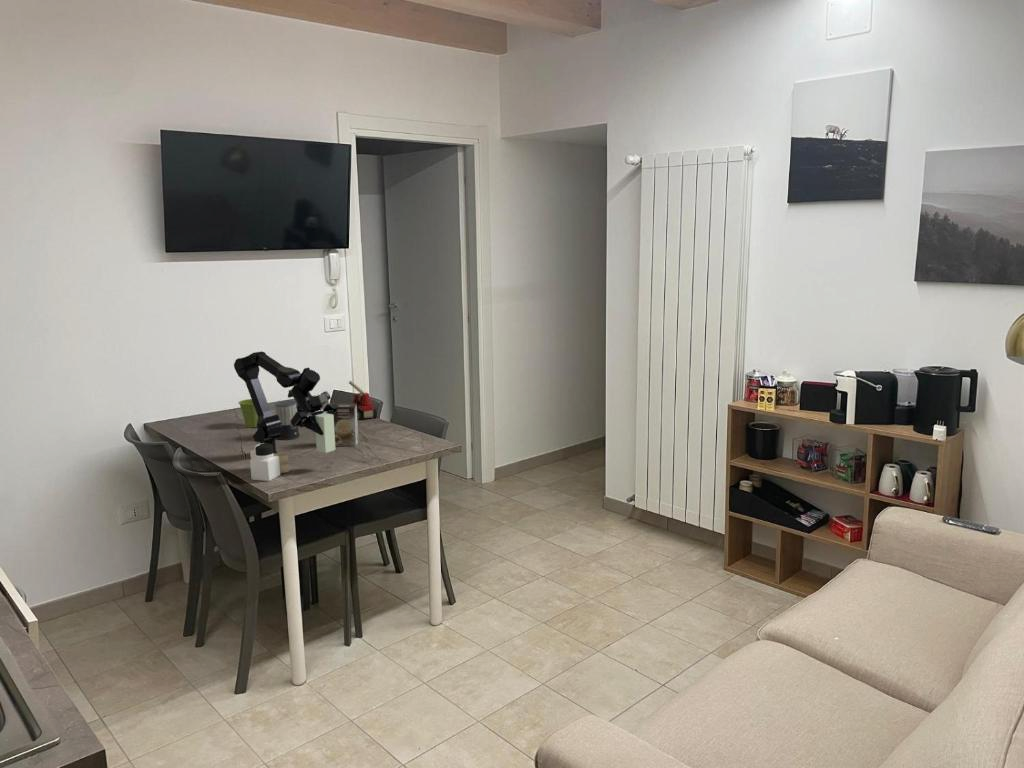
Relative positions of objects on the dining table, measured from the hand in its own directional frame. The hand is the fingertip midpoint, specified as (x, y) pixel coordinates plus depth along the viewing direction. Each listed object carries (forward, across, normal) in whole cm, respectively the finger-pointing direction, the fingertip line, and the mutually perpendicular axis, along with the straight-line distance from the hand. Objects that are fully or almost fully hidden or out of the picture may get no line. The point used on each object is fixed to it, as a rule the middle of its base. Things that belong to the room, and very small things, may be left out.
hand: (327, 433), depth 272 cm
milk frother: (-27, +23, +47) cm, 59 cm away
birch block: (0, -11, +20) cm, 22 cm away
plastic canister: (-6, -13, +25) cm, 29 cm away
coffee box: (-4, +27, +23) cm, 36 cm away
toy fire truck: (-24, +65, +43) cm, 81 cm away
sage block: (+4, 0, +6) cm, 7 cm away
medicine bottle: (+1, -18, +18) cm, 26 cm away
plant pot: (-44, +27, +64) cm, 82 cm away
